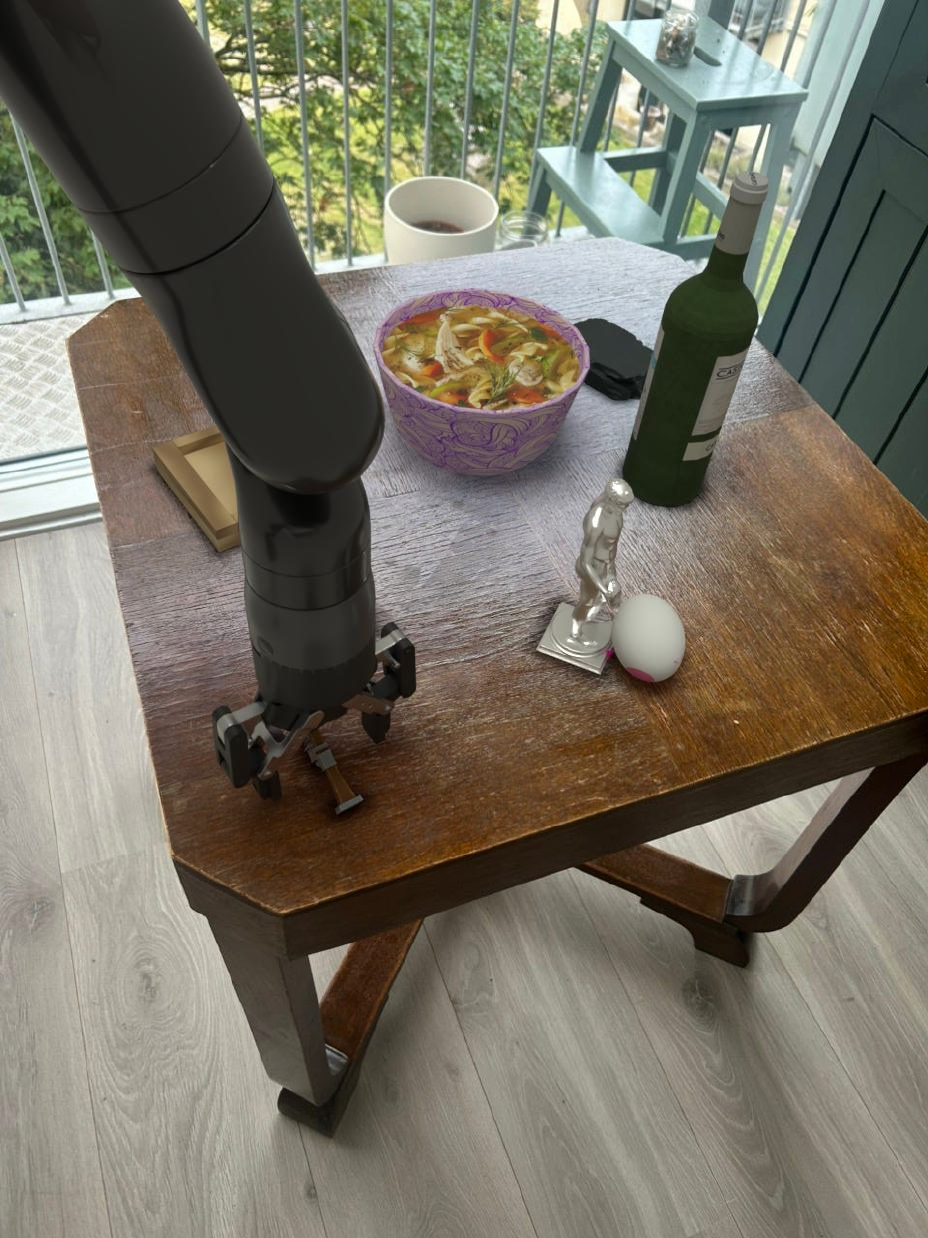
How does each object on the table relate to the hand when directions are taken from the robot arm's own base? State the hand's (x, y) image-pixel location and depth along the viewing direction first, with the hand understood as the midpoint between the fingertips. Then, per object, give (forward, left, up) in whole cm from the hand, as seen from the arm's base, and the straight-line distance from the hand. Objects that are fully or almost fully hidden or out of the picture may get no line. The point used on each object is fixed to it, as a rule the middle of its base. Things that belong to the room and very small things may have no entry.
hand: (323, 762), depth 69 cm
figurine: (+24, -1, -2) cm, 24 cm away
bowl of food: (+32, +25, -2) cm, 40 cm away
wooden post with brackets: (0, 0, -2) cm, 2 cm away
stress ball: (+28, -5, -1) cm, 28 cm away
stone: (+53, +28, -2) cm, 60 cm away
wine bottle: (+45, +11, -2) cm, 46 cm away
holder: (+9, +31, -2) cm, 32 cm away
